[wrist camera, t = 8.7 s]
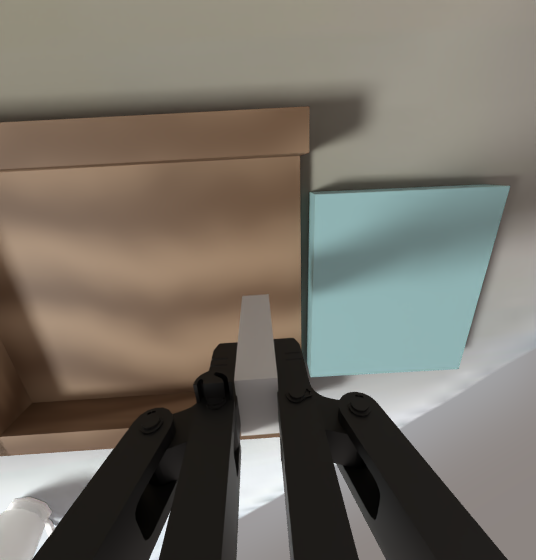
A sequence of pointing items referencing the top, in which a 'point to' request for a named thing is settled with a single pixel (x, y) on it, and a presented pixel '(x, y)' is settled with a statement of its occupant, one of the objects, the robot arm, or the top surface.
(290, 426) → the robot arm
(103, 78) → the top surface
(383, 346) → the cover plate
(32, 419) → the walnut box
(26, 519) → the cup
